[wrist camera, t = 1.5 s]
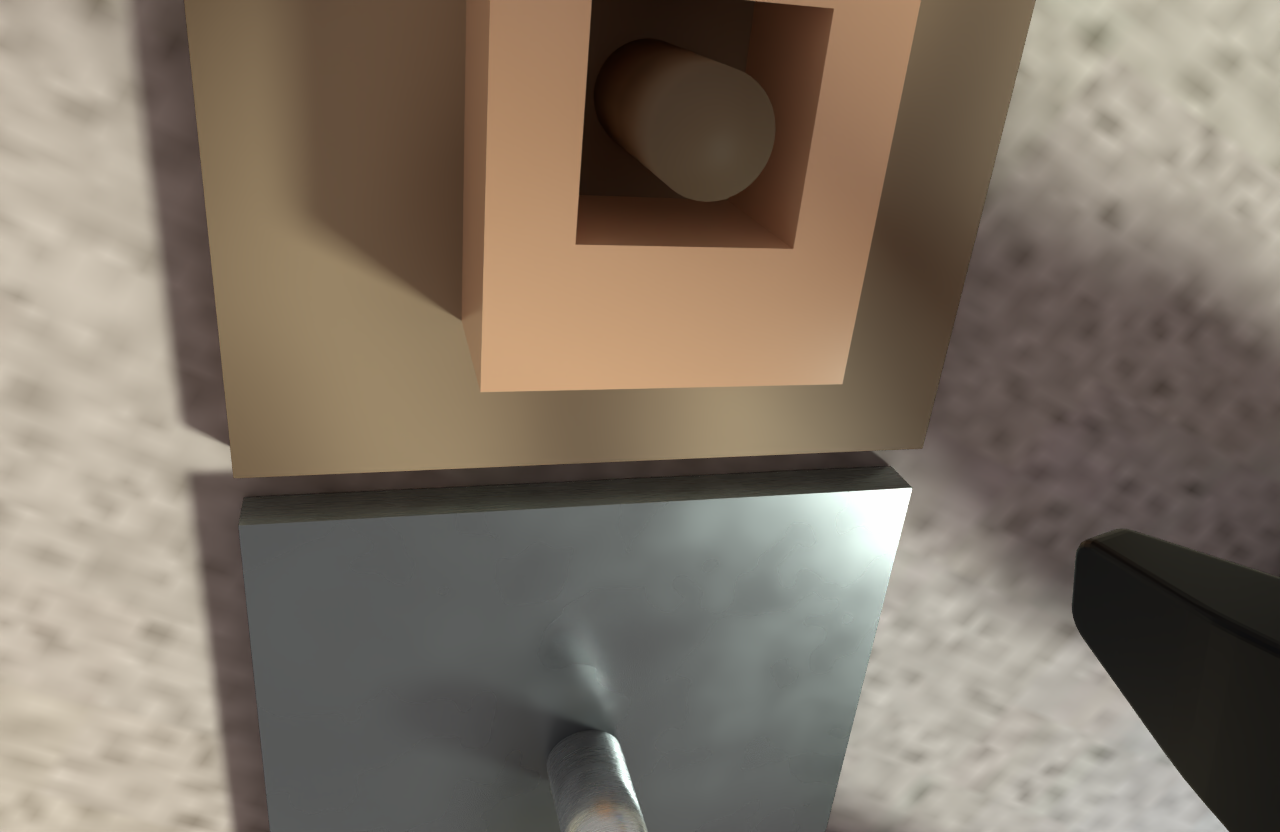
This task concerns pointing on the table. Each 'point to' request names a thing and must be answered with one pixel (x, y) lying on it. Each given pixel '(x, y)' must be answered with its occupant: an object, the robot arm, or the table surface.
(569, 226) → the square tube wooden block
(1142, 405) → the table surface
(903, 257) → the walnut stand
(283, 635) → the hub base
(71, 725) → the table surface
